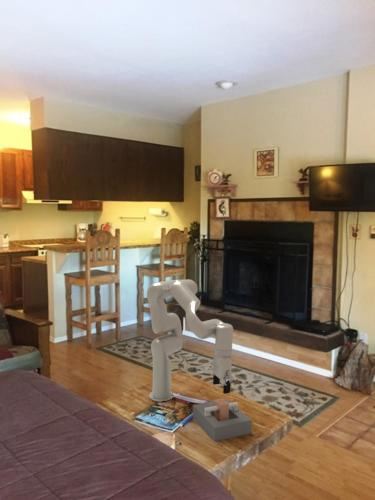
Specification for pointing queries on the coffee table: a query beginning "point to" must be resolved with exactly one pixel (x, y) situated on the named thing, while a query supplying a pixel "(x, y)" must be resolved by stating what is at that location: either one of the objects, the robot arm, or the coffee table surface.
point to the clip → (221, 410)
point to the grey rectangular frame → (222, 429)
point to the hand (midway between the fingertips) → (221, 388)
